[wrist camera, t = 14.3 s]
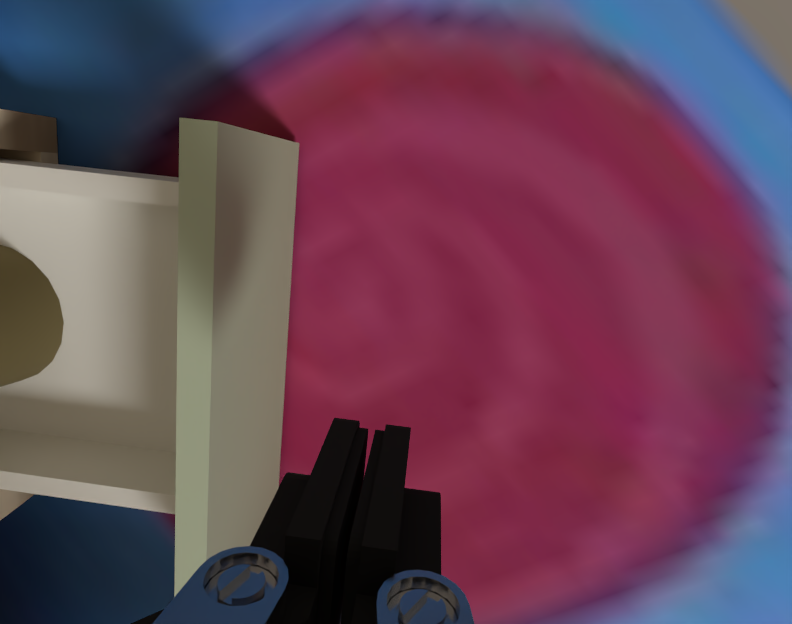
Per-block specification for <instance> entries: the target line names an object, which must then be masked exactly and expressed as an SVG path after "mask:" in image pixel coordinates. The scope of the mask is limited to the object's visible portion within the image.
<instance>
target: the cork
mask: <svg viewBox="0 0 792 624" xmlns="http://www.w3.org/2000/svg"><path fill="white" fill-rule="evenodd" d="M63 325H64V321H63V316H62V311H61V306H60V301H59V298H58V296H57V294H56V292H55V291H54V289H53V287H52V285H51V283H50V281H49V279H48V278H47V277H46V276H45V275H44V273H43V272H42V271H41V270H40V269H39V268H38V267H37V266H36V265H35V264H34V263H33V261H31V260H30V259H28V258H27V257H25V256H23V255H22V254H20V253H19V252H17V251H15V250H14V249H12V248H10V247H6V246H3V245H0V387H2V386H5V385H8V384H12V383H15V382H19V381H22V380H24V379H27V378H29V377H32V376H35V375H37V374H39V373H40V372H41V371H42V370H43V369H44V368H46V367H47V366H48V365H49V364H50V363H51V362H52V361H53V359H54V357H55V355H56V353H57V351H58V349H59V347H60V345H61V343H62V334H63Z"/></svg>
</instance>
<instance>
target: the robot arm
mask: <svg viewBox="0 0 792 624" xmlns="http://www.w3.org/2000/svg"><path fill="white" fill-rule="evenodd" d="M359 424H360V423H359V421H355V420H347V419H339V418H334V420H333V422H332V424H331V427H330V429H329V432H328V434H327V436H326V439H325V441H324V444H323V446H322V448H321V451H320V453H319V456H318V458H317V461H316V463H315V465H314V468H313V470H312V473H311V475H303V474H296V473H286V475H285V476H284V478H283V480H282V482H281V484H280V486H279V488H278V490H277V492H276V494H275V496H274V498H273V500H272V502H271V504H270V506H269V508H268V510H267V512H266V514H265V516H264V518H263V520H262V522H261V524H260V526H259V528H258V530H257V532H256V534H255V536H254V538H253V540H252V542H251V544H250V546H244V547H234V548H231V549H227V550H224V551H221V552H219V553H217V554H215V555H214V556H212V557H210V558H209V559H207V560H206V561H205V562H204V563H203V564H202V565H201V566H200V567H199V568H198V569H197V570H196V572H195V573H194V574H193V575H192V576H191V578H190V579H189V580H188V581H187V583H186V584H185V585H184V586H183V587H182V589H181V590H180V591H179V592H178V593H177V595H176V596H175V597H174V598H173V599H172V601H171V602H170V603H169V604H168V605H167V607H166V608H165V609H163V610H161V611H159V612H156V613H154V614H152V615H150V616H147V617H145V618H143V619H140V620H138V621H136V622H133V623H131V624H340V622H341V624H474V621H473V617H472V613H471V609H470V605H469V603H468V601H467V598H466V596H465V594H464V593H463V592H462V590H461V589H460V588H459V587H458V586H457V585H456V584H455V583H453V582H452V581H450V580H449V579H448V578H446V577H444V576H442V575H441V495H440V493H438V492H431V491H423V490H416V489H408V488H404V486H405V477H406V468H407V458H408V449H409V440H410V430H411V428H409V427H402V426H394V425H386V428H385V431H381V430H375V434H374V439H373V443H372V447H371V451H370V455H369V459H368V464H367V468H366V472H365V476H364V469H365V459H366V449H367V438H368V429H365V428H359ZM363 479H364V480H363Z"/></svg>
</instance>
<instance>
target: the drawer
mask: <svg viewBox="0 0 792 624" xmlns="http://www.w3.org/2000/svg"><path fill="white" fill-rule="evenodd" d="M298 156H299V143H296V142H292V141H289V140H285V139H281V138H277V137H274V136H270V135H266V134H262V133H259V132H255V131H251V130H248V129H244V128H240V127H236V126H233V125H229V124H225V123H221V122H218V121H208V120H198V119H189V118H179V177H170V176H161V175H152V174H143V173H134V172H125V171H116V170H107V169H97V168H88V167H79V166H70V165H61V164H52V163H43V162H34V161H25V160H16V159H7V158H0V245H3V246H6V247H10V248H12V249H14V250H15V251H17V252H19V253H20V254H22V255H23V256H25V257H27V258H28V259H30V260H31V261H33V263H34V264H35V265H36V266H37V267H38V268H39V269H40V270H41V271H42V272H43V273H44V275H45V276H46V277H47V278H48V279H49V281H50V283H51V285H52V287H53V289H54V291H55V292H56V294H57V296H58V298H59V301H60V306H61V311H62V316H63V321H64V325H63V334H62V343H61V345H60V347H59V349H58V351H57V353H56V355H55V357H54V359H53V361H52V362H51V363H50V364H49V365H48V366H47V367H46V368H44V369H43V370H42V371H41V372H40V373H39V374H37V375H35V376H32V377H29V378H27V379H24V380H22V381H19V382H15V383H12V384H8V385H5V386H2V387H0V489H4V490H10V491H17V492H24V493H31V494H38V495H45V496H52V497H59V498H66V499H73V500H80V501H87V502H94V503H101V504H107V505H114V506H121V507H128V508H135V509H142V510H149V511H156V512H163V513H170V514H175V590H174V597H175V596H176V595H177V593H178V592H179V591H180V590H181V589H182V587H183V586H184V585H185V584H186V583H187V581H188V580H189V579H190V578H191V576H192V575H193V574H194V573H195V572H196V570H197V569H198V568H199V567H200V566H201V565H202V564H203V563H204V562H205V561H206V560H207V559H209V558H210V557H212V556H214V555H215V554H217V553H219V552H221V551H224V550H227V549H231V548H234V547H244V546H250V544H251V542H252V540H253V538H254V536H255V534H256V532H257V530H258V528H259V526H260V524H261V522H262V520H263V518H264V516H265V514H266V512H267V510H268V508H269V506H270V504H271V502H272V500H273V498H274V496H275V494H276V492H277V490H278V488H279V472H280V455H281V439H282V422H283V406H284V389H285V372H286V356H287V339H288V322H289V306H290V289H291V272H292V256H293V239H294V222H295V206H296V189H297V173H298Z"/></svg>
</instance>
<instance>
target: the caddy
mask: <svg viewBox="0 0 792 624" xmlns="http://www.w3.org/2000/svg"><path fill="white" fill-rule="evenodd" d="M0 158H7V159H16V160H25V161H34V162H43V163H52V164H58V149H57V124H56V118H53V117H47V116H41V115H35V114H29V113H22V112H16V111H10V110H4V109H0ZM33 495H34V494H31V493H24V492H17V491H10V490H4V489H0V520H2V519H3V518H4V517H6V516H7V515H8V514H10V513H11V512H12V511H13V510H15V509H16V508H17V507H19V506H20V505H21V504H23V503H24V502H25V501H26V500H28V499H29V498H30V497H32V496H33Z"/></svg>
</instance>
